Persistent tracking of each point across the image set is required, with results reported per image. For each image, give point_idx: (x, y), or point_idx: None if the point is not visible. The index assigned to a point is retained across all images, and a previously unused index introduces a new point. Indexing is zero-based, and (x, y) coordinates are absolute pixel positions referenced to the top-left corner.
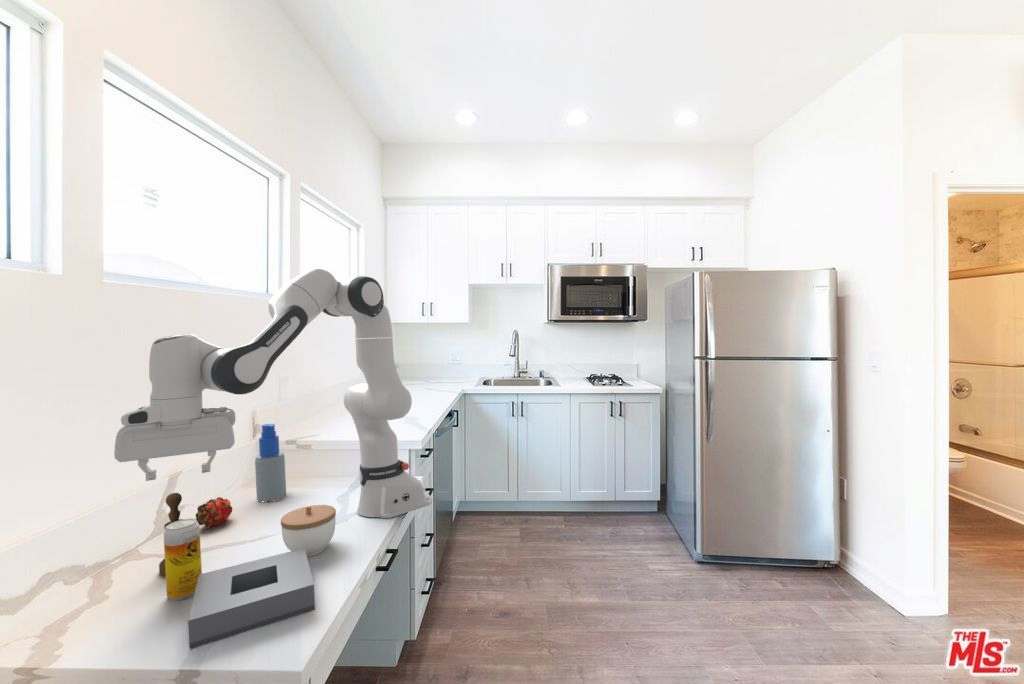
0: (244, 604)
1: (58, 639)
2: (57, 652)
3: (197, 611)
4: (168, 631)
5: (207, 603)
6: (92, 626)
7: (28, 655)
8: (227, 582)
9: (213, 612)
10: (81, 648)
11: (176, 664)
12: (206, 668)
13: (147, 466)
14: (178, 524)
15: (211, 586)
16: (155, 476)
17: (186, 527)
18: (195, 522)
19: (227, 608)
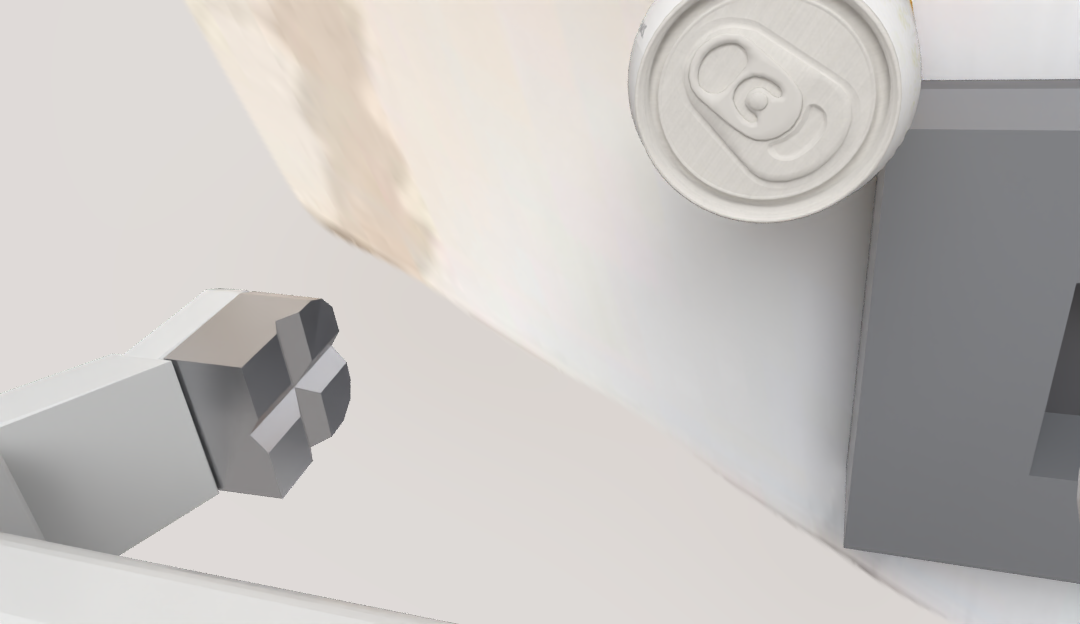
0: (1073, 582)
1: (365, 104)
2: (408, 205)
3: (878, 509)
4: (762, 305)
5: (921, 475)
6: (449, 69)
7: (320, 164)
8: (1037, 338)
9: (940, 556)
10: (479, 228)
11: (810, 513)
12: (898, 586)
13: (79, 447)
14: (734, 90)
15: (950, 331)
16: (316, 358)
17: (811, 212)
18: (888, 143)
19: (999, 563)
